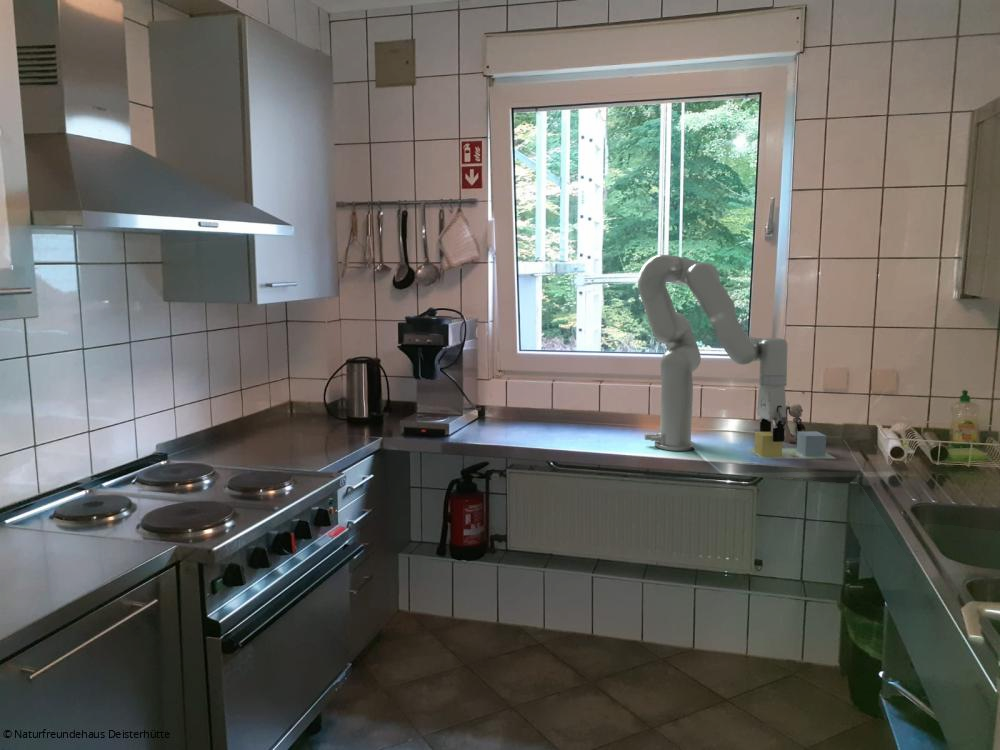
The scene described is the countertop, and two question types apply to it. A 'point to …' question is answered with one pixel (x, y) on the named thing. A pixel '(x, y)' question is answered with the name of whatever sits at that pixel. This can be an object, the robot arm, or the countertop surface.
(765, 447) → the brick
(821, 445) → the base brick
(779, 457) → the board
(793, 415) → the toy
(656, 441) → the robot arm
